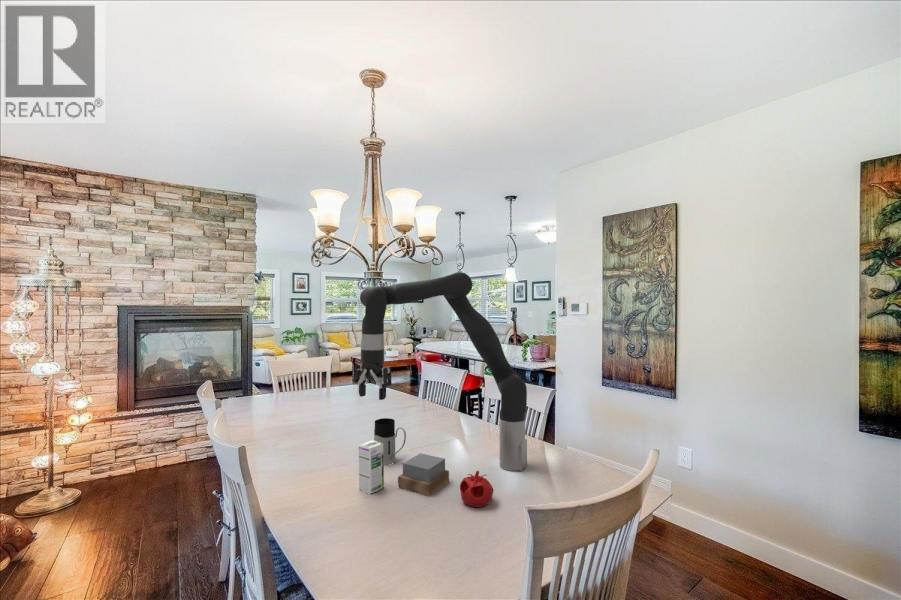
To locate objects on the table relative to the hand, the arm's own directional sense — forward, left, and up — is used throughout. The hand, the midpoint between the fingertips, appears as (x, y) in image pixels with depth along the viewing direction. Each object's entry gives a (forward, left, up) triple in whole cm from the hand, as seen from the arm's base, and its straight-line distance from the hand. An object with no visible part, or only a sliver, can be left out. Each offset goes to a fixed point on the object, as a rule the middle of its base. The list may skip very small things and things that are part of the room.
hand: (372, 397), depth 130 cm
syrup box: (-1, +1, -29) cm, 29 cm away
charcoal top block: (-14, -10, -25) cm, 30 cm away
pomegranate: (-34, -8, -29) cm, 45 cm away
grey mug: (+7, -19, -29) cm, 35 cm away
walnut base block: (-14, -9, -29) cm, 34 cm away
